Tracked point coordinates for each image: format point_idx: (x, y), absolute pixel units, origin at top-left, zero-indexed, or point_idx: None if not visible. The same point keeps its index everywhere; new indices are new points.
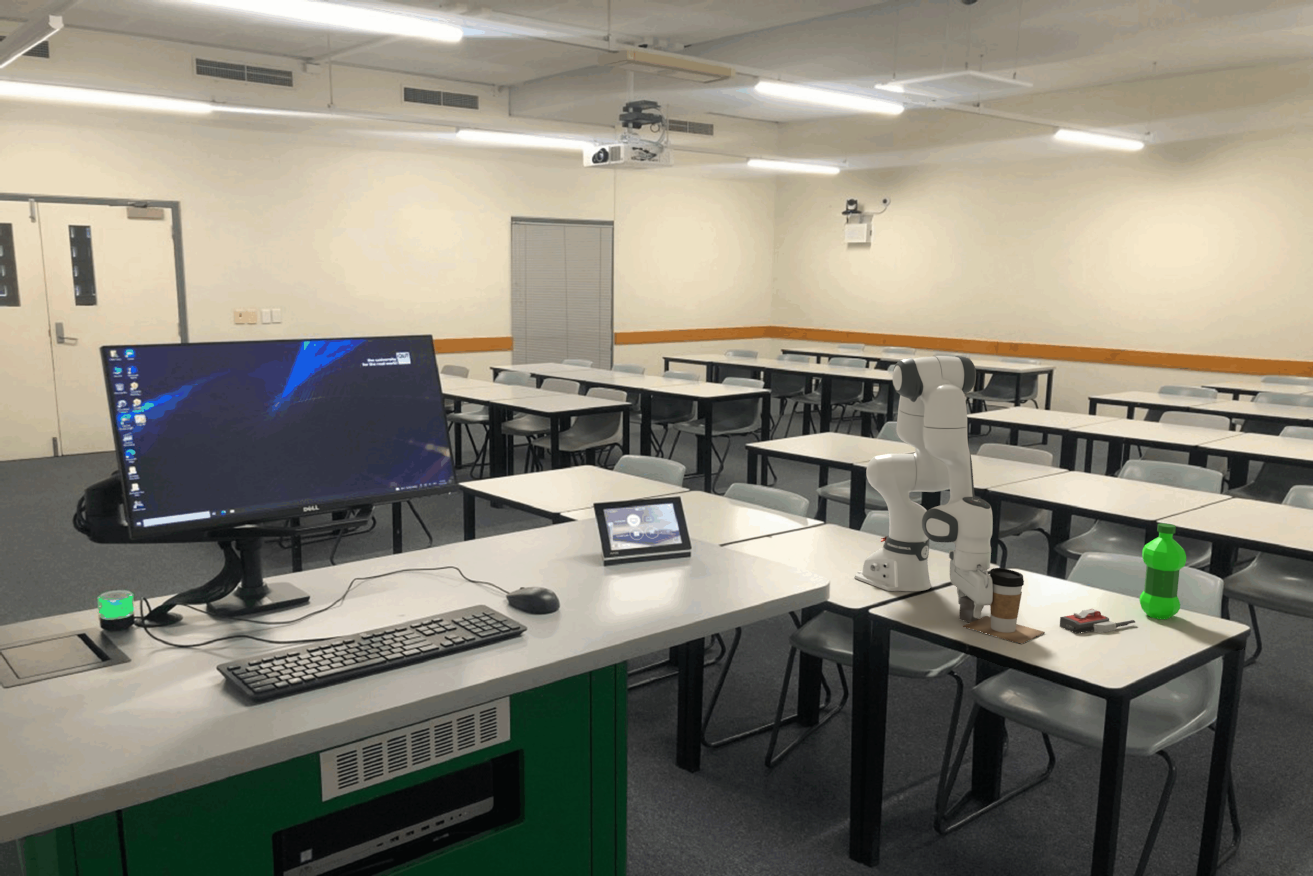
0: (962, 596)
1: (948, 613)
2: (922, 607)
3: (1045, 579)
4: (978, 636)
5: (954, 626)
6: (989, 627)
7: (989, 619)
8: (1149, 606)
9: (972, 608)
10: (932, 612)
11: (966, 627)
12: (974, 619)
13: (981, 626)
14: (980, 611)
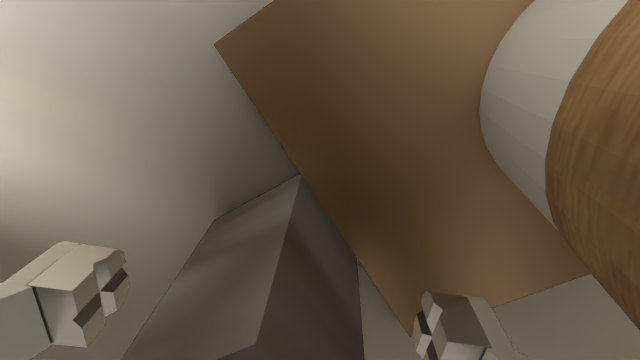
0: (12, 334)
1: (134, 282)
2: (38, 356)
3: None
4: (588, 319)
5: (376, 353)
6: (511, 191)
7: (324, 77)
8: None
9: (359, 351)
10: (123, 349)
11: None
12: (333, 229)
13: (465, 236)
14: (513, 356)
